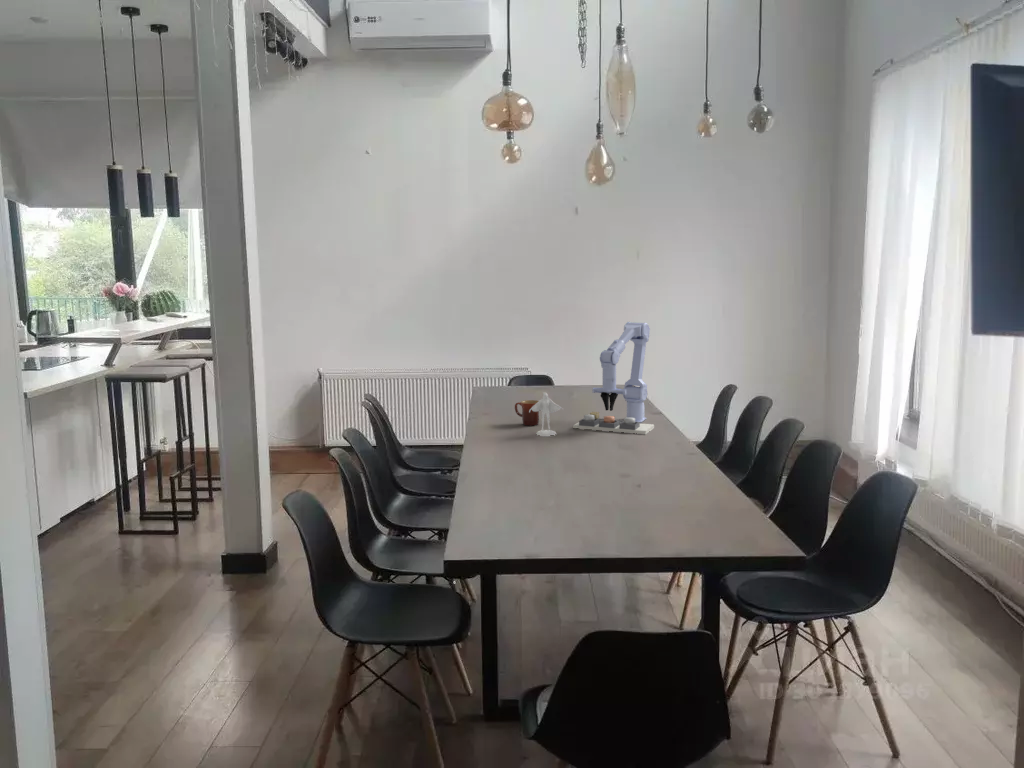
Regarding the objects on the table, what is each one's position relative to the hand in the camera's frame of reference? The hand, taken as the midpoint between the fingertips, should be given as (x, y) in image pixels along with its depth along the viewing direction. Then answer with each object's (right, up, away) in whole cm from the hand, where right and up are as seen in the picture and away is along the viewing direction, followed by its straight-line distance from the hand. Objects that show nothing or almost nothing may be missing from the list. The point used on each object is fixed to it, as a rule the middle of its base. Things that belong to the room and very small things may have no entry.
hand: (609, 410), depth 344 cm
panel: (+2, -8, +4) cm, 9 cm away
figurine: (-27, -10, -4) cm, 29 cm away
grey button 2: (+8, -6, -3) cm, 10 cm away
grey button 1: (-8, -5, +5) cm, 10 cm away
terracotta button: (0, -5, +1) cm, 5 cm away
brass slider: (-5, -5, +11) cm, 13 cm away
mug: (-35, -7, +15) cm, 38 cm away
